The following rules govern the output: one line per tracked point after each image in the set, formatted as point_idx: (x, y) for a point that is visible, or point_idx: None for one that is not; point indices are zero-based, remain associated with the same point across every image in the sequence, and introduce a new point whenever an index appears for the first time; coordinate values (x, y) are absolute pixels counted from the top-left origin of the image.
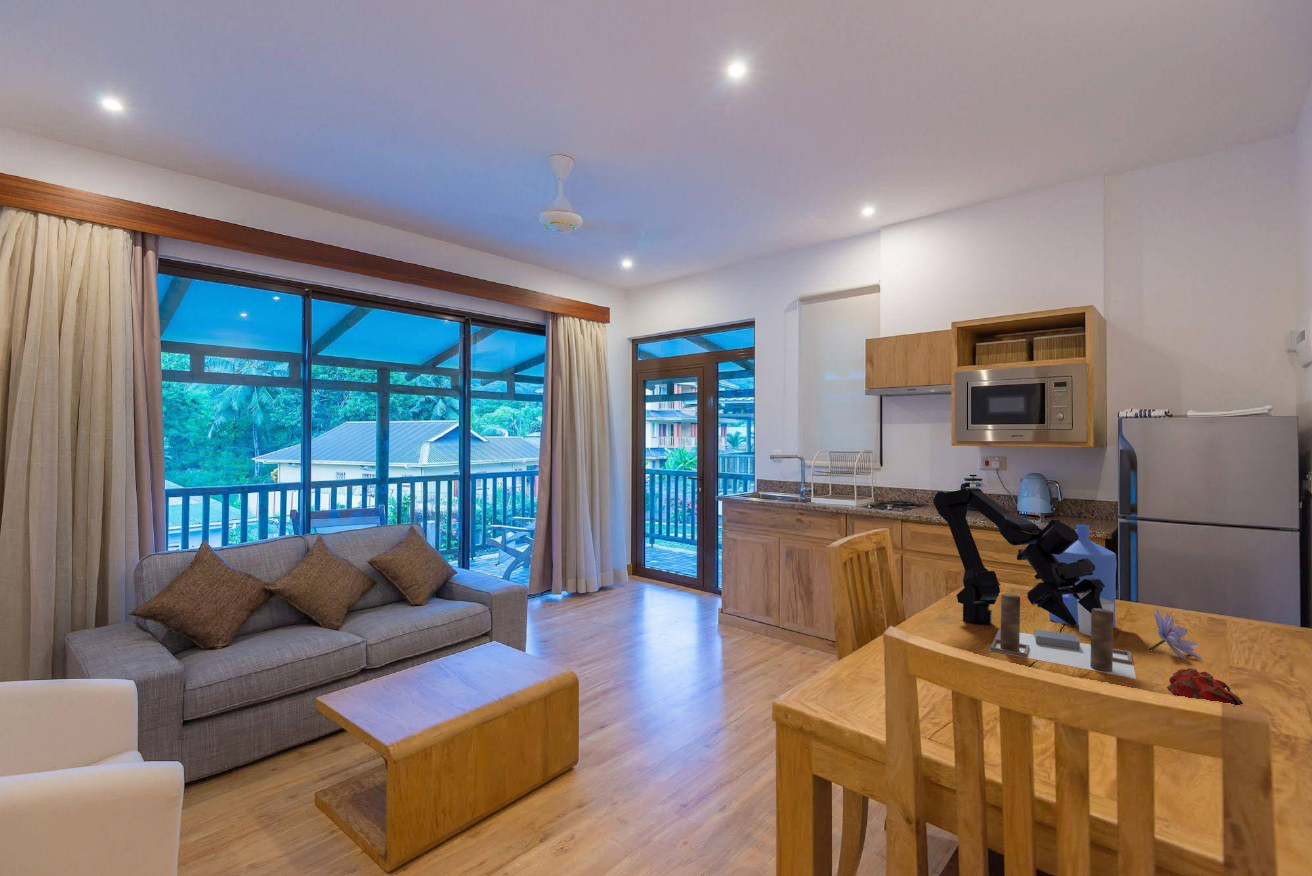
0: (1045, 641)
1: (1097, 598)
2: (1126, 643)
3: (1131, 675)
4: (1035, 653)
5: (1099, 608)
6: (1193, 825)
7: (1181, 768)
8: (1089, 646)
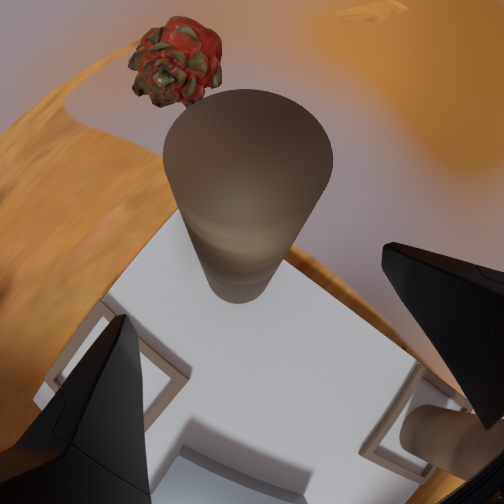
0: (280, 493)
1: (36, 444)
2: None
3: None
4: (371, 405)
5: (97, 372)
6: (390, 4)
7: (355, 21)
8: None
